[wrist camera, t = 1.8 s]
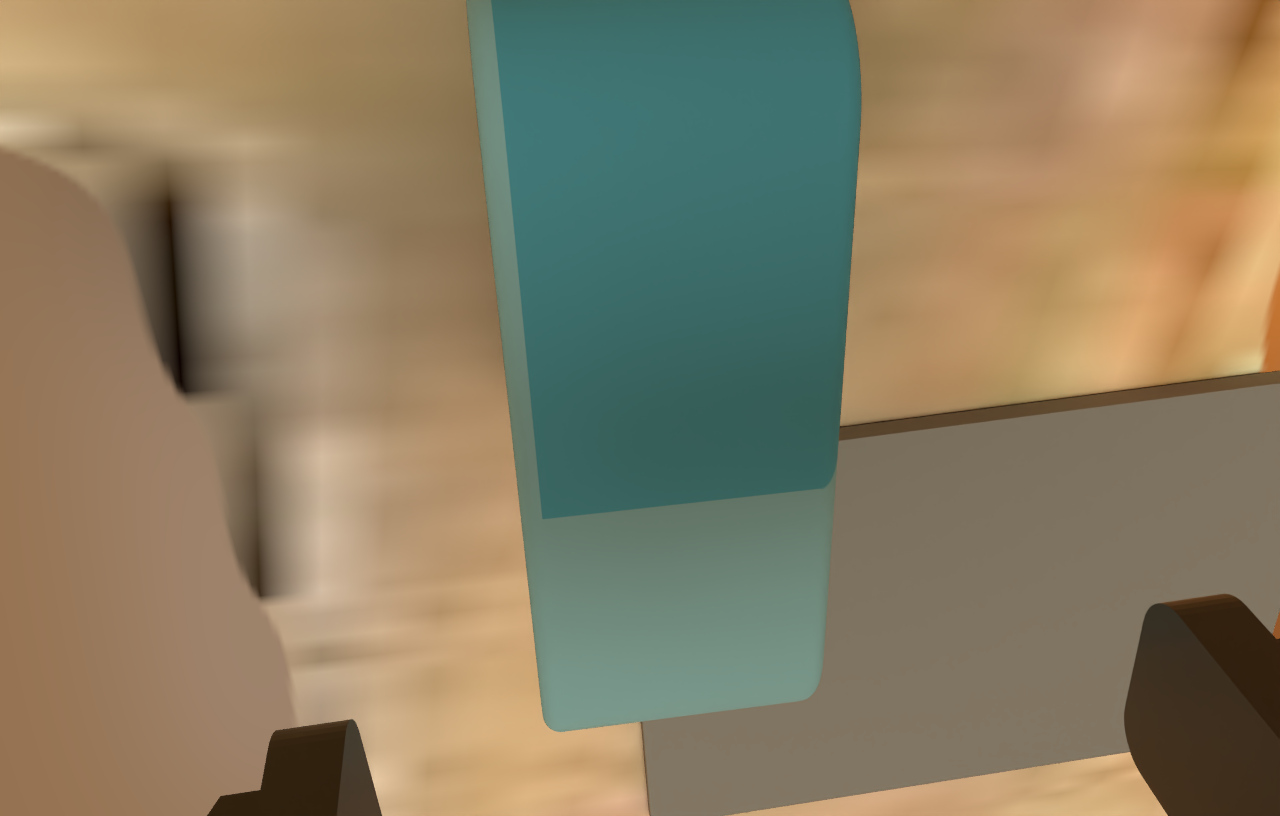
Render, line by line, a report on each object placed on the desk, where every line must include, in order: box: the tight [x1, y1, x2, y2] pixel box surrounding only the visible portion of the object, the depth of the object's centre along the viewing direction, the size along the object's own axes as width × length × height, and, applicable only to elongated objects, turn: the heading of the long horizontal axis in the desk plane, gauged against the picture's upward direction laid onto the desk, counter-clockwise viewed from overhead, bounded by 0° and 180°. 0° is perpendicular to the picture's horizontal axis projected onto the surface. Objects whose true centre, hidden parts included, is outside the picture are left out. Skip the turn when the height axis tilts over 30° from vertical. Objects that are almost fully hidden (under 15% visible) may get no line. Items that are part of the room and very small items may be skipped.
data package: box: [466, 0, 861, 732], centre depth 21 cm, size 12×4×12 cm, turn 2°
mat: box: [641, 371, 1280, 816], centre depth 34 cm, size 14×20×1 cm
